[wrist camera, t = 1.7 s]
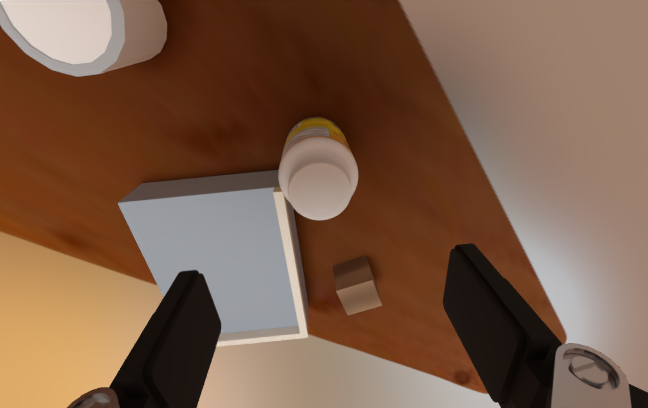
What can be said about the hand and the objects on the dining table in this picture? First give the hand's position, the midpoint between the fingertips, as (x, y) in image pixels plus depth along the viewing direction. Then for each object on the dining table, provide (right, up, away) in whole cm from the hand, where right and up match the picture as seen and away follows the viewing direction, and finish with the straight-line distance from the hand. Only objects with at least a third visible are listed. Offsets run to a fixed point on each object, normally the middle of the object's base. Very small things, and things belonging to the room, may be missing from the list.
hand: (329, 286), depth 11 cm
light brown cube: (+3, -5, +23) cm, 24 cm away
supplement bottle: (-1, +9, +16) cm, 18 cm away
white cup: (-15, +17, +11) cm, 25 cm away
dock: (-10, -2, +21) cm, 23 cm away
